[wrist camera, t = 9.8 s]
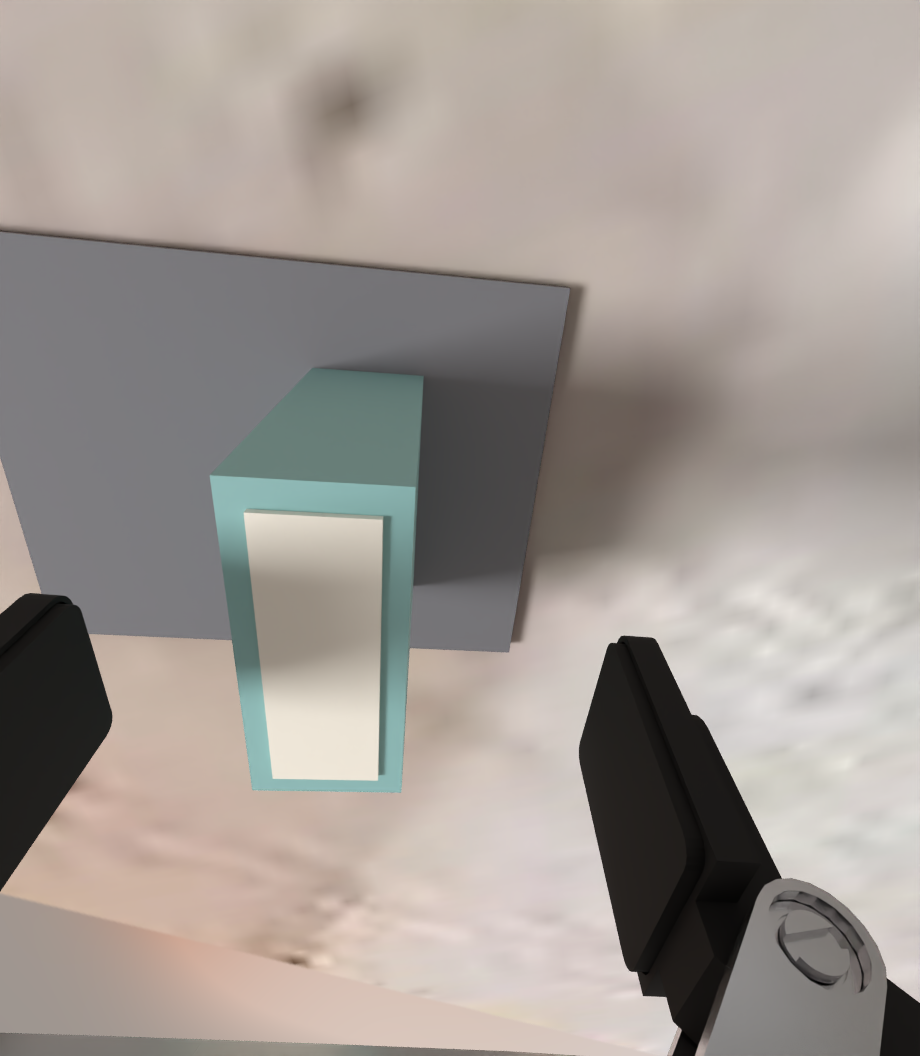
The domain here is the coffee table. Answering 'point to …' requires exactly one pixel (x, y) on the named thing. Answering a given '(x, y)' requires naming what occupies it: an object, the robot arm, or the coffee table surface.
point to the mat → (257, 418)
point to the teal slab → (324, 579)
